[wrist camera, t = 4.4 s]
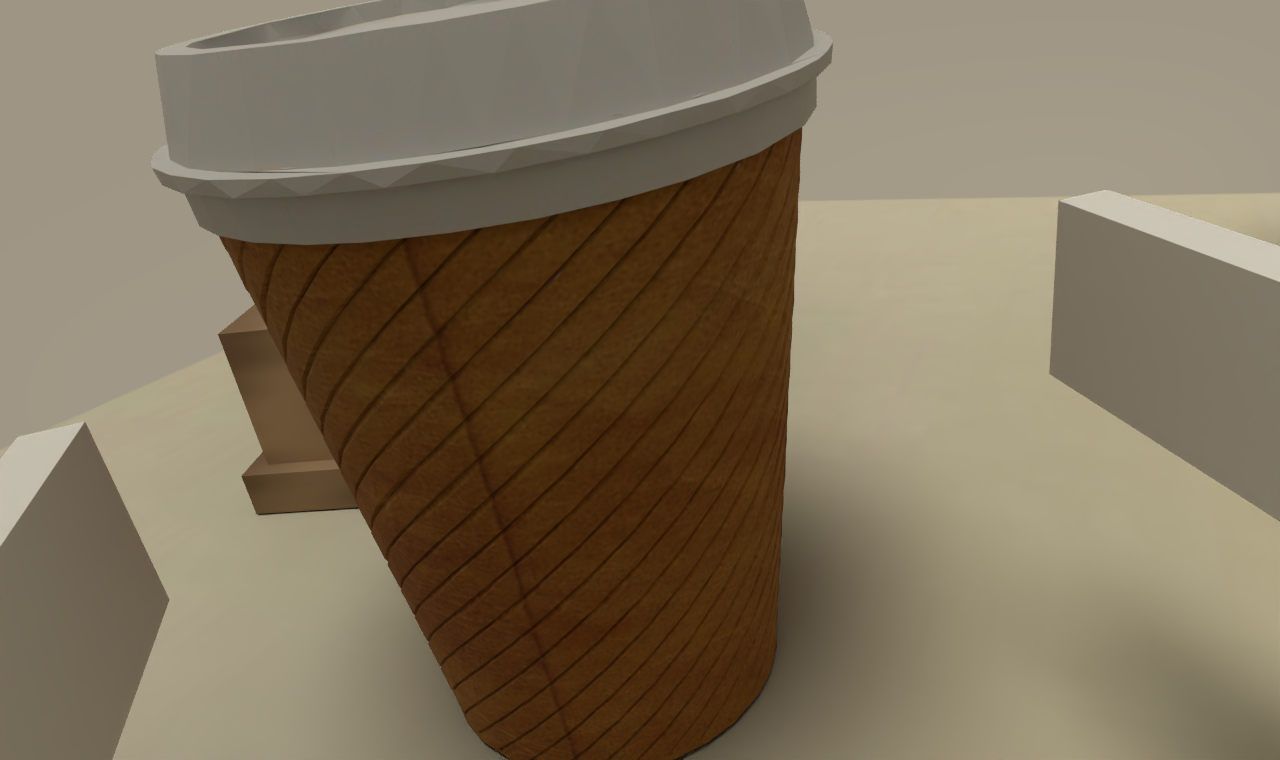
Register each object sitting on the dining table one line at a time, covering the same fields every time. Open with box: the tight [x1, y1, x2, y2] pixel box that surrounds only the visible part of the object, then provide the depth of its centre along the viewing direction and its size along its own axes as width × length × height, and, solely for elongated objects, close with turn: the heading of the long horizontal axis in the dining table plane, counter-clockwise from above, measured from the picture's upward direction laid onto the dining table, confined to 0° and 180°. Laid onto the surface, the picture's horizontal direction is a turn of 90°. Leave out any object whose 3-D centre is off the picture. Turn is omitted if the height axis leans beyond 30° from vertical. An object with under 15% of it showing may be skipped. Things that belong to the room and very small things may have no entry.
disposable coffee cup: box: [151, 0, 833, 760], centre depth 16 cm, size 10×10×12 cm
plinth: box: [218, 305, 358, 514], centre depth 28 cm, size 13×13×5 cm
